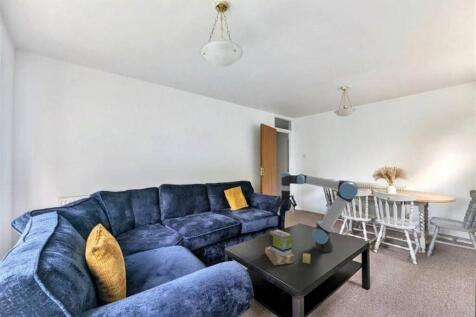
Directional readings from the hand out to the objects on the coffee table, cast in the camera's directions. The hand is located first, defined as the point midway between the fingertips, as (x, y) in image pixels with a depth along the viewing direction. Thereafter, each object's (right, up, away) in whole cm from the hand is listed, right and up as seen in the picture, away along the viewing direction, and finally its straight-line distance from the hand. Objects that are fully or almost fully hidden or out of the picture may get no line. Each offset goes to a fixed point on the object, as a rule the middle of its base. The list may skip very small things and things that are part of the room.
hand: (285, 214), depth 180 cm
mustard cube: (+10, -29, -26) cm, 40 cm away
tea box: (-9, -24, -20) cm, 33 cm away
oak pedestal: (-10, -29, -20) cm, 36 cm away
